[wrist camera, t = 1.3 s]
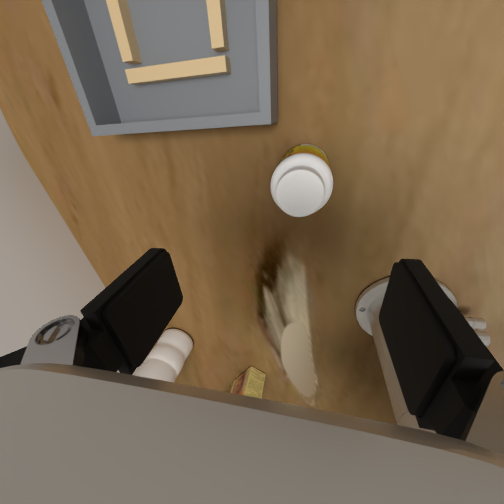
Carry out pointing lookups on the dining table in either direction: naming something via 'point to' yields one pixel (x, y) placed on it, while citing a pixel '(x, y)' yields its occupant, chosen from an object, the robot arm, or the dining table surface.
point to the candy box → (249, 383)
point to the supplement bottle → (302, 181)
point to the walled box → (169, 62)
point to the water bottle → (167, 356)
